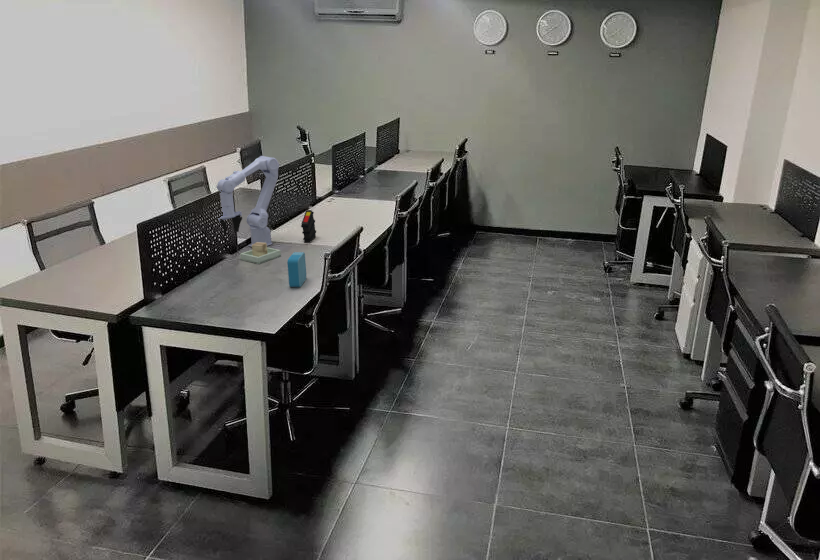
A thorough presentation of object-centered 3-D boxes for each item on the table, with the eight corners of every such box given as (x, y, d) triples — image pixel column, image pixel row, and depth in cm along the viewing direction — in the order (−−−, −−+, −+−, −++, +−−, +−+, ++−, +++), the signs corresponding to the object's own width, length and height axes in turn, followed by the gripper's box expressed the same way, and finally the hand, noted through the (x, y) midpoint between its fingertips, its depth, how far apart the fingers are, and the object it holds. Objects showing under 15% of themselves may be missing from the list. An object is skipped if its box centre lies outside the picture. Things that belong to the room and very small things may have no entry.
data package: (296, 278, 281) (294, 251, 277) (306, 278, 281) (304, 251, 277) (289, 288, 270) (287, 259, 266) (300, 288, 270) (298, 260, 266)
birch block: (258, 254, 312) (256, 242, 310) (267, 255, 310) (266, 242, 308) (252, 257, 307) (251, 245, 305) (262, 258, 306) (261, 245, 304)
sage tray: (263, 252, 318) (262, 246, 317) (281, 256, 311) (280, 250, 310) (240, 259, 307) (240, 253, 306) (258, 264, 300) (258, 257, 299)
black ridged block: (318, 232, 344) (313, 209, 333) (312, 249, 335) (307, 226, 324) (311, 232, 344) (305, 209, 334) (305, 249, 335) (299, 226, 325)
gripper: (233, 201, 318) (236, 228, 323) (209, 207, 307) (212, 235, 311) (243, 203, 314) (246, 230, 319) (219, 209, 303) (223, 237, 308)
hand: (230, 233), depth 315 cm, fingers open, 7 cm apart
